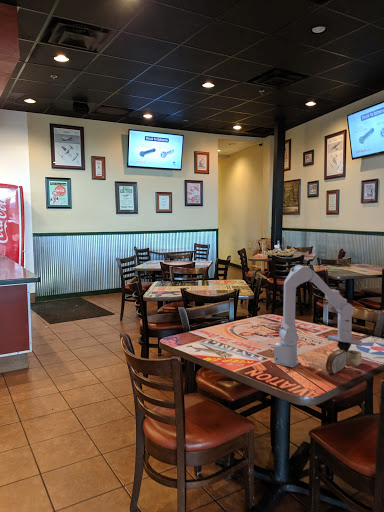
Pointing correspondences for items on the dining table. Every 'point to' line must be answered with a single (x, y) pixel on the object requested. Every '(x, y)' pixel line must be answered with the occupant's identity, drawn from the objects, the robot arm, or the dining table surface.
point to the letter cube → (353, 357)
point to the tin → (336, 361)
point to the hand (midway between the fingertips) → (344, 358)
